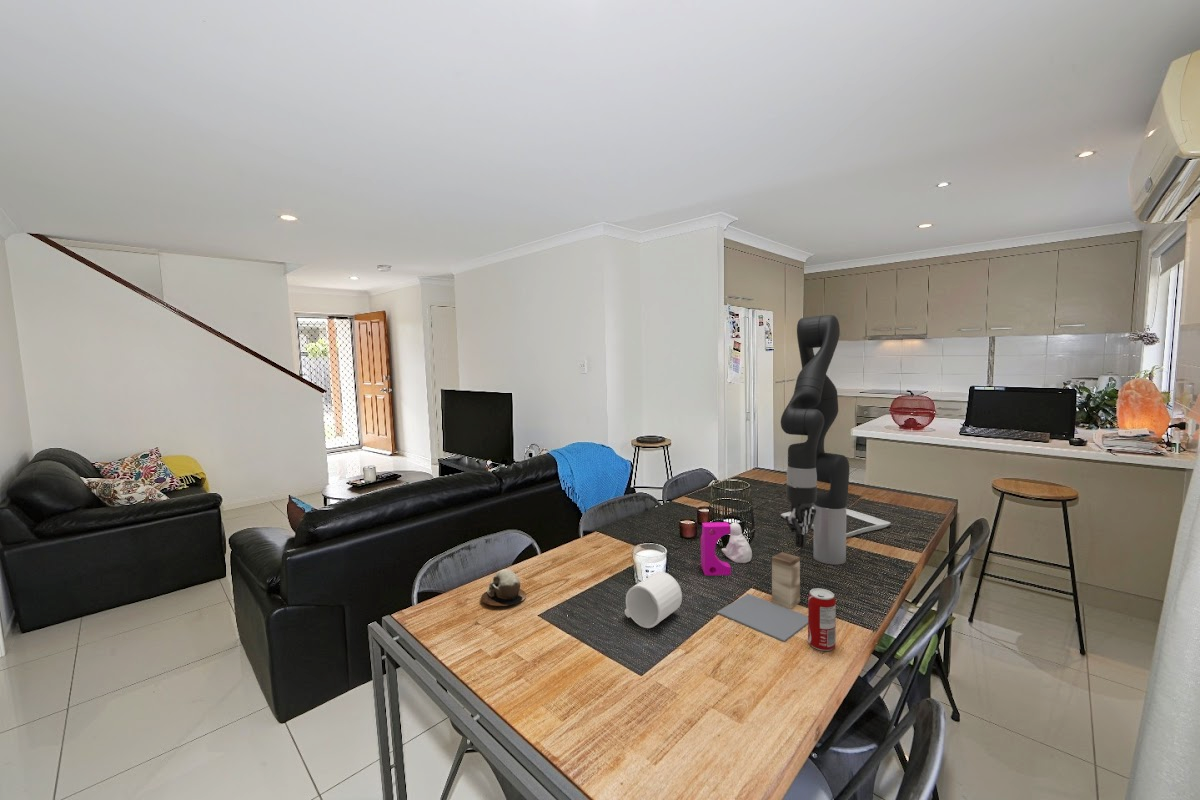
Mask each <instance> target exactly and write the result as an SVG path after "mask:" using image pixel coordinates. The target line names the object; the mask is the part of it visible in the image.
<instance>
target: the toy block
mask: <svg viewBox="0 0 1200 800" xmlns="http://www.w3.org/2000/svg"><path fill="white" fill-rule="evenodd" d="M730 533H731V530H730V523H729V522H727V521H726V522H725V521H723V522H720V521H719V522H718V521H717V522H702V523H701V535H700V567H701V569H702V571H703V574H704V576H731V575H732V567H731V566H730V564H729V562H726V561H723V560H721V559H720V558H719V557H718V556H717V555H716V552H715V551H716V546H717V543H718V541H720V539H721V538H722V537H723V536H725V535H730Z"/></svg>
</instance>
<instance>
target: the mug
mask: <svg viewBox="0 0 1200 800" xmlns="http://www.w3.org/2000/svg"><path fill="white" fill-rule="evenodd" d="M682 601H683V593H682V588H681V586H680V584H679V583H678V581H677V580H676V578H674V577H673V576H672V575H671V574H669V573H667V572H666V571H665V572H664V571H658V572H655V573H652V574H651V575H649V576H648V577H646V578H645V579H643V580H641V581H640V582H637V583H636V584H635V585H633V586H631V587H630V588H629V589H628V590H627V592H626V596H625V607H626V608H625V609H624V613H625V615H624V616H626V617H627V619H628V618H631V619H632V620H633V621H634V623H636V624H637V625H638V626H639V627H641V628H643V629H651V628H654V627H655V626H657V625H658V624H660V622H662V621H663V620H664V619H666V618H667V617H669V616H670V615H671V614H673V613H674V612H676V610H678V609H679V608H680V606H681V604H682Z"/></svg>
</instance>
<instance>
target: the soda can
mask: <svg viewBox="0 0 1200 800" xmlns="http://www.w3.org/2000/svg"><path fill="white" fill-rule="evenodd" d="M807 601H808V603H807V616H808V624H807V642H808V644H809V645H810V646H811V647H812V648H814V649H816V650H818V651H822V652H828V651H833V649H834V648H835V647H836V642H837V641H836V640H837V639H836V632H837V631H836V628H837V627H836V626H837V623H836V622H837V621H836V619H837V614H836V613H837V607H836V606H837V601H836V598H835V593H833V592H832V591H830V590H829V589H825V588H821V587H820V588H819V587H818V588H817V587H816V588H811V590H809V594H808V597H807Z"/></svg>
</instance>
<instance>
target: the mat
mask: <svg viewBox="0 0 1200 800" xmlns="http://www.w3.org/2000/svg"><path fill="white" fill-rule="evenodd" d="M716 614H718V615H719V616H722V617H724V618H727V619H729V620H731V621H734V622H737V624H741V625H743V626H746V627H748V628H749V629H753V630H755V631H757V632H759V633H762V634H764V635H766V636H769V637H771V638H774V639H776V640H778V641H781V642H782V643H783V642H784V643H786V642H787V641H788V640H789V639H791V638H792V637H793V636H795V635H796V634H797V633H798V632H799V631H801V630H802V629H804V628H806V626H808V614H807V615H806V614H803V613H801V612H798V611H796V610H793V609H792V608H791V609H789V608H786V607H784V606H781V605H778V604H776V603H773V602H772V601H769V600H766V599H763V598H761V597H758V596H755V595H753V594H750V593H746V594H744V595H743V596H741V597H740V598H738V599H736V600H735V601H733V602H731V603H730V604H728V605H726V606H724V607H723V608H721V609H719V610H717V611H716Z"/></svg>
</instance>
